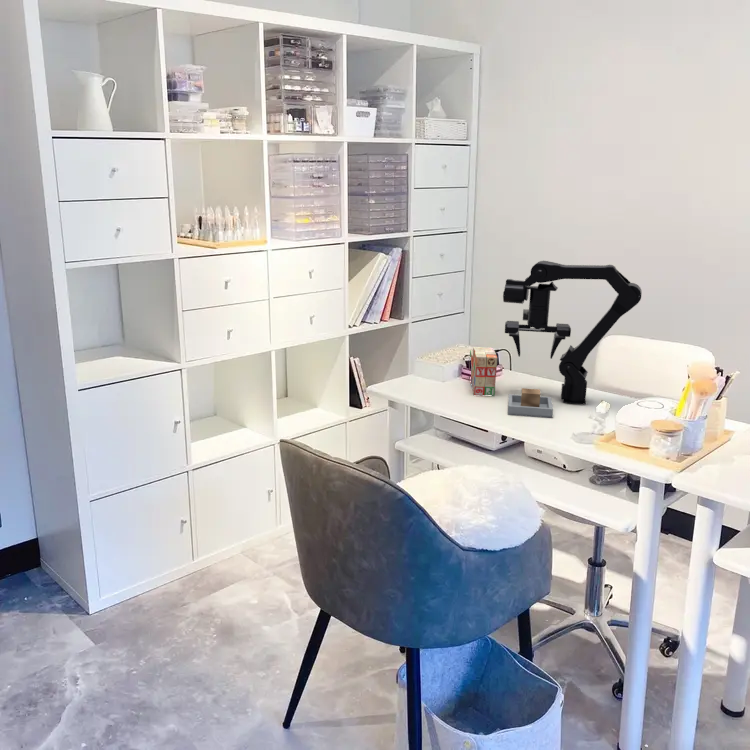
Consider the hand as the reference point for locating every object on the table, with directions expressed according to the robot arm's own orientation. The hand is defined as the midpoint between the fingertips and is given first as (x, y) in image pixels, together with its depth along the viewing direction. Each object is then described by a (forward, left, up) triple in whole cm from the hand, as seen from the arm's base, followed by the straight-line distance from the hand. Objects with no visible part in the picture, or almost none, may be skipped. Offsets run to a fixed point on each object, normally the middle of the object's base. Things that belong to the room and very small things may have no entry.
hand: (535, 357), depth 228 cm
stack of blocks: (+15, -7, -12) cm, 21 cm away
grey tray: (+1, +14, -12) cm, 18 cm away
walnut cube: (+1, +14, -12) cm, 18 cm away
